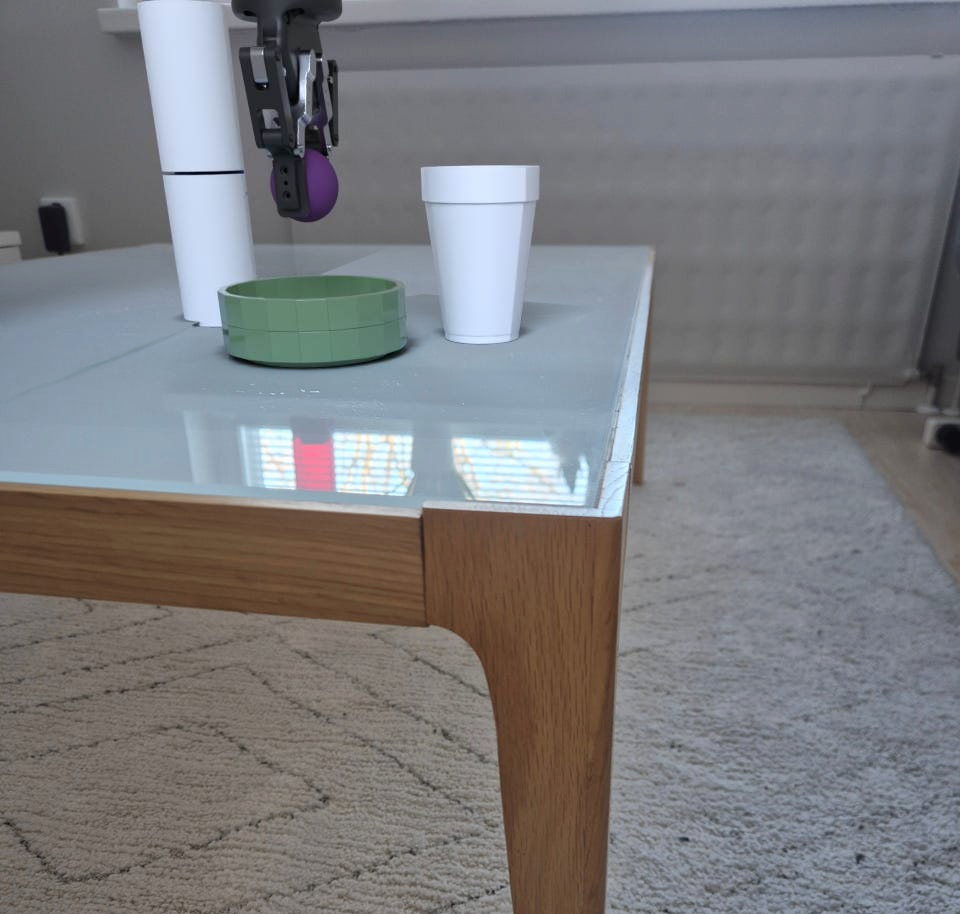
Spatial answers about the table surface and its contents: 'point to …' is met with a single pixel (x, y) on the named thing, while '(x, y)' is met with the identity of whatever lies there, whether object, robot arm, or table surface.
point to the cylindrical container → (199, 149)
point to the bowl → (313, 319)
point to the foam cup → (481, 246)
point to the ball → (316, 186)
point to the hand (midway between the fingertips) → (306, 213)
